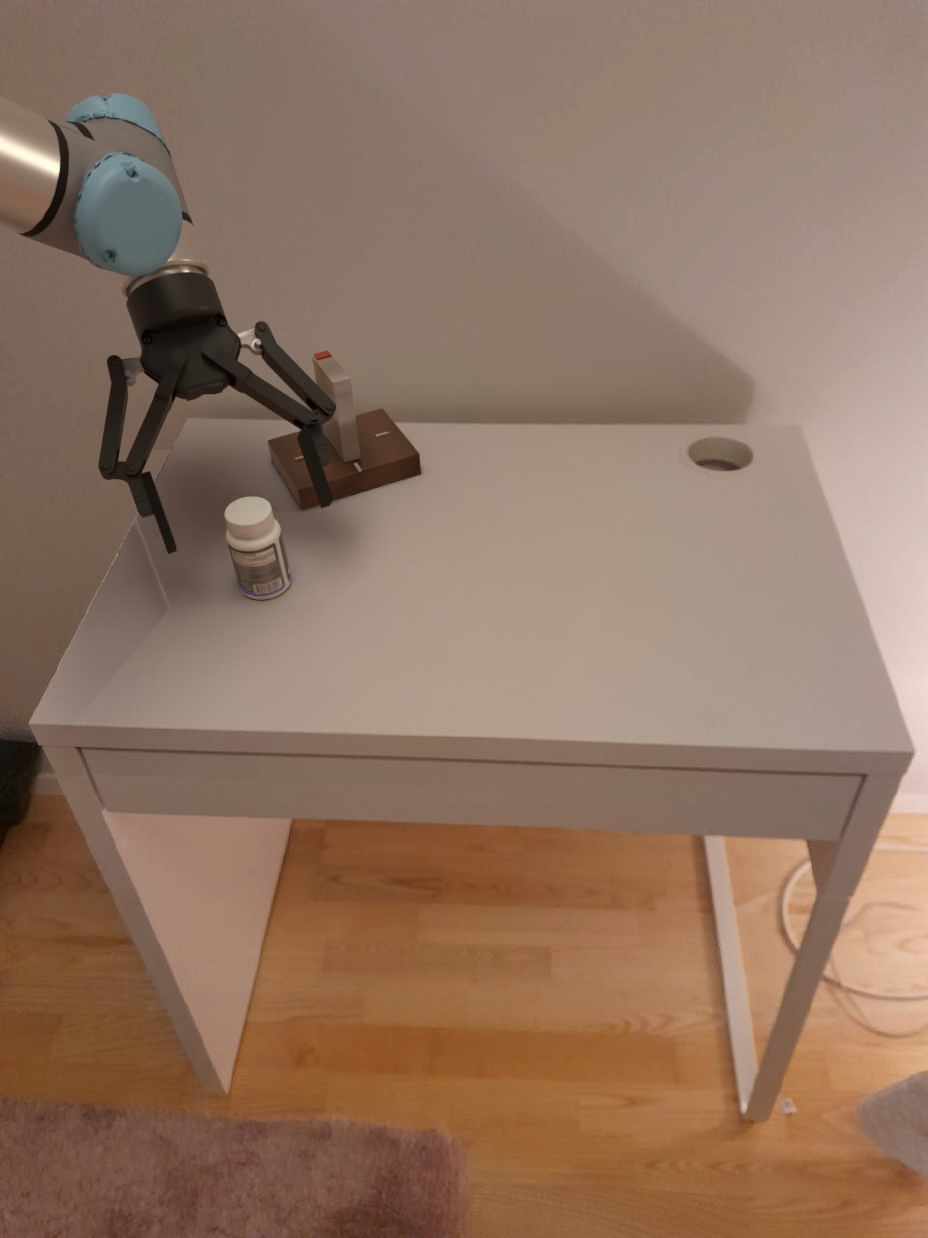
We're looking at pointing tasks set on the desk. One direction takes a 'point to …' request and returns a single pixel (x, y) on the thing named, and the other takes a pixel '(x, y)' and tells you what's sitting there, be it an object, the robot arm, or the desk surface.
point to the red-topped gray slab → (338, 406)
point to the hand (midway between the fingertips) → (251, 527)
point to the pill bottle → (257, 548)
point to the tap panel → (378, 465)
